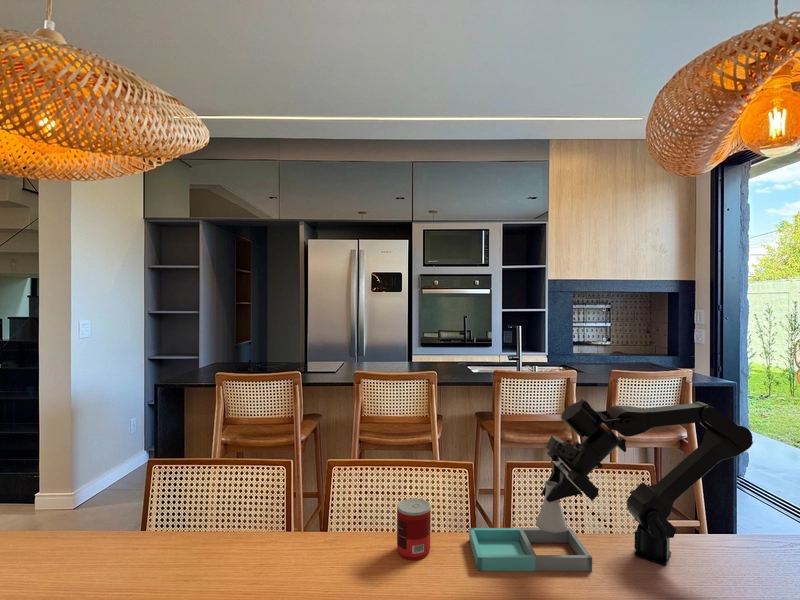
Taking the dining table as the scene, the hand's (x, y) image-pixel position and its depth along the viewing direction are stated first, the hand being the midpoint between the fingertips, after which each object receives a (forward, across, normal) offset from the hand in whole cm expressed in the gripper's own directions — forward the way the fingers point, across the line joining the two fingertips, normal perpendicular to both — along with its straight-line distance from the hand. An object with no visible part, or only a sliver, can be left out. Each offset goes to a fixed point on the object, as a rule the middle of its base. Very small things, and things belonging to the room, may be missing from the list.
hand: (545, 497), depth 112 cm
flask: (+4, 0, +6) cm, 7 cm away
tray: (+12, 0, +6) cm, 14 cm away
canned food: (+31, -1, -12) cm, 33 cm away
